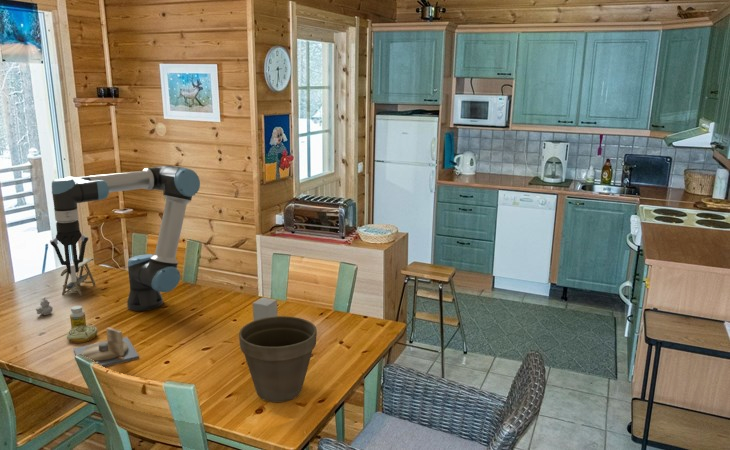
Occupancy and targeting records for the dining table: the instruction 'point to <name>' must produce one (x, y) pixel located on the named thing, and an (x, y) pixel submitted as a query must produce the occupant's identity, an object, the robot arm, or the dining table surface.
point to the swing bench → (78, 278)
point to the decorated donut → (82, 334)
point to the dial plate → (127, 356)
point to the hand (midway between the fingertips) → (73, 280)
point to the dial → (107, 347)
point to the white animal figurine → (44, 307)
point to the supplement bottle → (77, 317)
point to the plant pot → (278, 355)
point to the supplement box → (264, 308)
